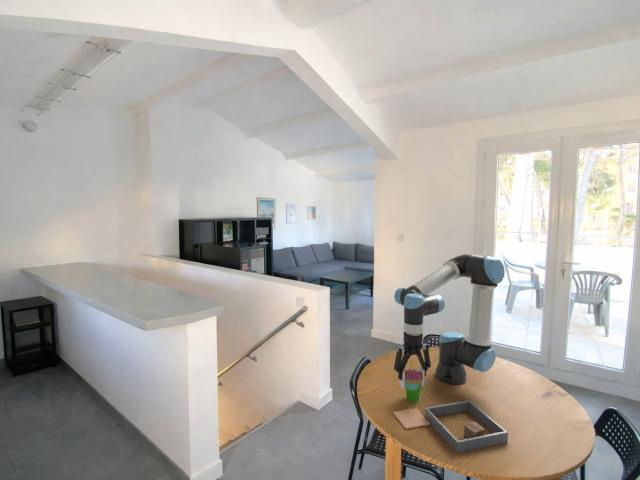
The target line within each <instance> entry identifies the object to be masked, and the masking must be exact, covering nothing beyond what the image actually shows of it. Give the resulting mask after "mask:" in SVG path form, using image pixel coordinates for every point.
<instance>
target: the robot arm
mask: <svg viewBox="0 0 640 480" xmlns="http://www.w3.org/2000/svg"><path fill="white" fill-rule="evenodd" d="M505 272H506V271H505V266H504V263H503V262H502V260H501V259H500V258H497V257H493V256H491V255H489V256H488V255H479V254H473V253H464V254H460V255H457V256H455V257H453V258H450V259H449V260H447V261H445V262H444V263H443V264H442V266H441V267H439V268H438V269H436V270H435V271H433V272H431V273H430V274H428V275H426V276H425V277H423V278H422V279H420V280H419V281H417V282H415V283H414V284H411V286H409V287H407V288H405V287H399V288H397V289H396V290H395V292H394V294H393V296H394V301H395V302H396V303H397V304H398V305H401V306H403V343H402V344H403V345H401V346H398V345H397V346H396V347H395V348H396V355H395V360H394V365H393V370H394V371H395V372H396V373H397V378H398V380H399V386H400V387H401V388H402V389H403V390H404V389H406V388H405V373H404V371H405V370H406V369H405V368H406V367H407V365H408V361H409V359H411V358H412V356H416V357H417V359H418V362H419V365H420V367H419V372H420V373H421V374H422V376H423V381H422V382H421V383H420V384H421V387H422V386H425V378H426V376H427V371H428V370H429V368H430V369H431V366H432V365H431V364H432V363H431V360H430V359H431V357H430V352H429V350H430V345H429V344H428V343H426V342H424V341H423V339H424V338H423V337H424V334H423V332H424V317H425V316H426V317H427V316H430V315H434V314H438V313H441V312H442V311H444V309H445V307H446V306H445V304H446V303H445V300H444V298H443V297H442V296H441V295H440V294H432V293H433V292H435V291H436V290H438V289H440V288H441V287H443V286H445V285H446V284H448V283H449V282H451V281H453V280H458V279H459V278H468V279H470V280H469V281H470V285H472V287H473V288H472V297H471V298H472V299H471V307H470V308H471V309H470V315H469V318H470V319H469V326H468V327H469V328H468V335H467V336H465V335H464V334H463V333H461V332H457V331H446V332H443V333H441V334H440V335H439V343H438V344H439V346H438V347H439V349H438V350H439V351H438V353H439V354H438V362H437V366H436V368H435V371H434V375H435V378H436V379H437V380H439V381H441V382H442V383H446V384H449V385H462V384H464V383H466V382H467V373H466V369H465V366H466V367H468V368H470V369H473V370H475V371H478V372H480V373H486V372H488V371H490V370H491V368H492V367H493V366H494V364H495V361H496V358H497V357H496V356H497V354H496V351H495V350H494V349H493V348H492V342H491V341H490V340H489V335H490V326H491V317H492V316H491V315H492V306H493V305H492V304H493V297H494V289H496V288H497V287H498V284H500V283H502V282H503V279H504V278H505V274H506V273H505ZM423 342H424V343H423ZM421 350H422V352H421Z"/></svg>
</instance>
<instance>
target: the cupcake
mask: <svg viewBox="0 0 640 480" xmlns="http://www.w3.org/2000/svg"><path fill="white" fill-rule="evenodd" d="M403 372H404V373H405V385H406V388H407V389H409V390H416V389H418V386H419V384H420V383H421V382H422V381H423V376H422V374H421V373H420V372H419V371H418V370H416V369H413V359H412V358H410V368H409V369H408V368H407V369H404V371H403ZM406 388H405V389H406Z"/></svg>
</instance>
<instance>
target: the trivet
mask: <svg viewBox="0 0 640 480" xmlns="http://www.w3.org/2000/svg"><path fill="white" fill-rule="evenodd" d="M392 413H393V415H394V416H395V418H396V419H397V421H398V422H399V423H400V425H402V427H403V428H404V429H405V430H411V429H416V428H423V427H426V426H428V427H429V426H431V423H430V422H429V421H428V420H427V419H426V418H425V415H423V414H422V412H420V410H418V408H417V407H414V408H410V409H403V410H402V409H401V410H396V411H393V412H392Z"/></svg>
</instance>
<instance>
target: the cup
mask: <svg viewBox="0 0 640 480" xmlns="http://www.w3.org/2000/svg"><path fill="white" fill-rule="evenodd" d="M404 389H405V393H406V394H405V396H406V399H407V400H408V401H409V402H411V403H417V402H419V399H420V394H421V389H422V385H421V384H419V386H418V389H416V390H409V389H407V388H406V385H405V388H404Z"/></svg>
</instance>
